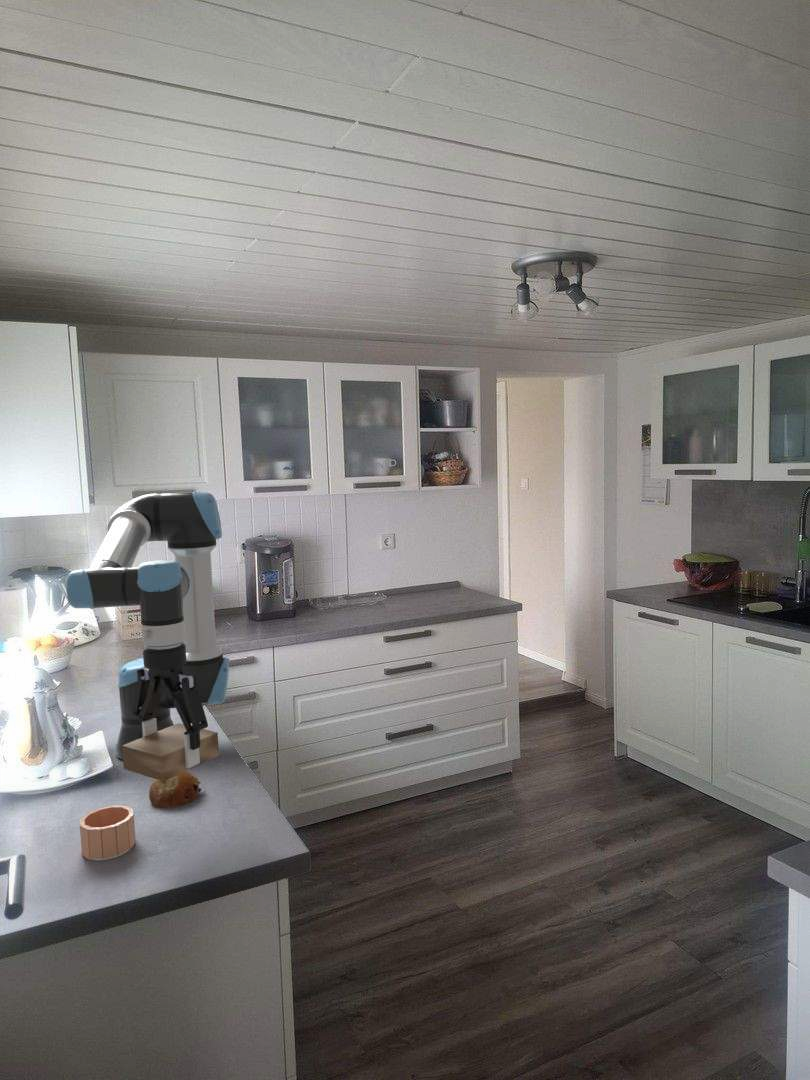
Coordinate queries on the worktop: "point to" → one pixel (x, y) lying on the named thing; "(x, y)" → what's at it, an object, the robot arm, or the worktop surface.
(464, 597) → the worktop surface
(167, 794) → the bread roll
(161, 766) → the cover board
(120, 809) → the wooden tub
